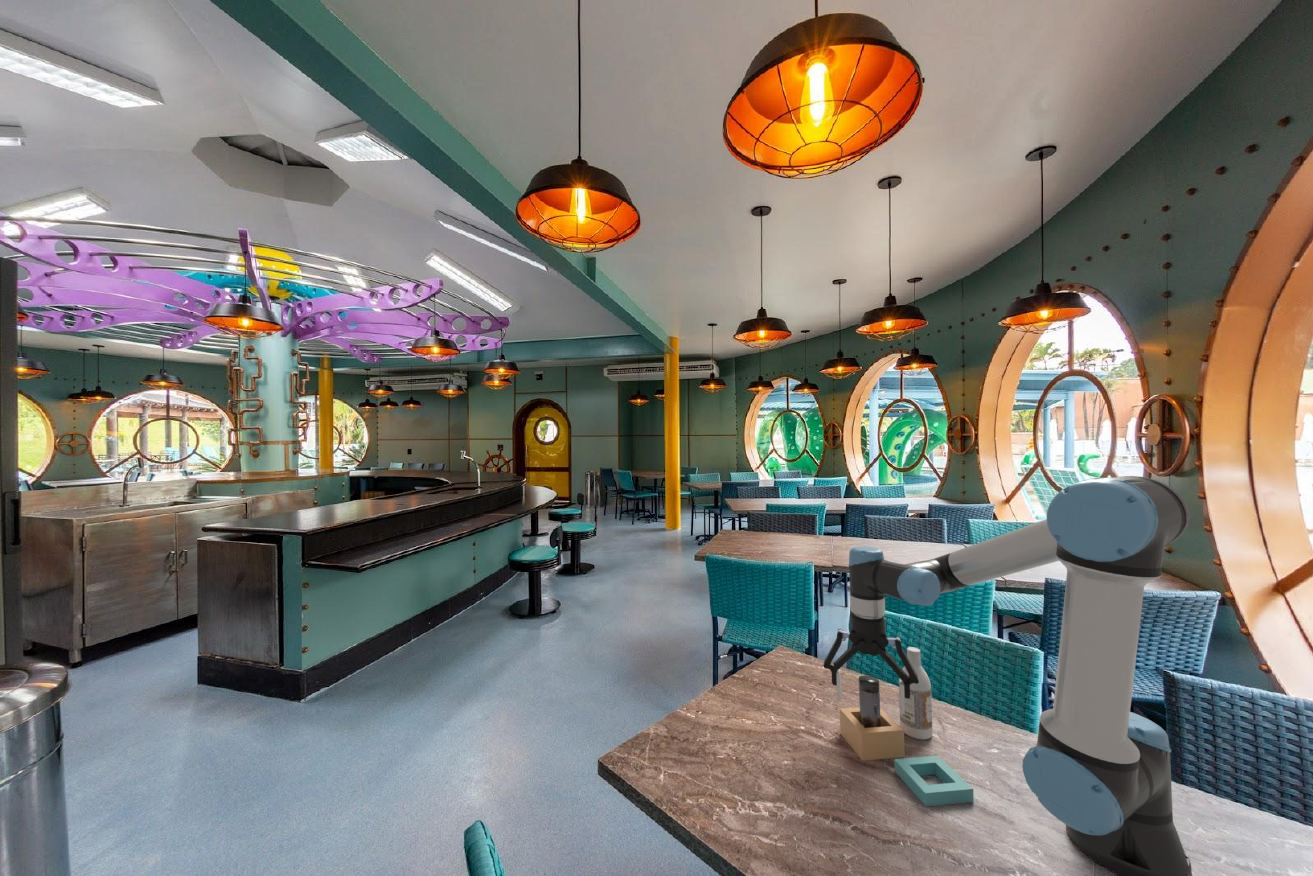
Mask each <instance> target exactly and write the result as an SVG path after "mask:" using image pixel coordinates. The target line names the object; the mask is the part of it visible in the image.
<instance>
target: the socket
mask: <svg viewBox="0 0 1313 876" xmlns="http://www.w3.org/2000/svg"><path fill="white" fill-rule="evenodd" d="M880 721H881V727H872V728H864V726H863V725H862V724H861V723H860V706H857V707H847V708H846V707H842V708H839V722H840V725H839V727H840V730H839V731H840V735H841V736H842V737H843V739H844V740H845V741H846V742H847V744H848V746H850V747H851V749H852V750H853V751H854V752H855V754H857V756H858V757H859V759H861V760H862V761H874V760H884V759H885V760H887V759H888V760H889V759H902V758H905V757H906V751H905V750H906V749H905V747H906V746H905V733H904V730H903V729H902V728H901V727H900V724H898V723H897V722H896V721H895V720H894V719H893V718H892V717H891V716H890V715H889V714H888V713H887V712H886V711H884V709H882V707H880Z"/></svg>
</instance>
